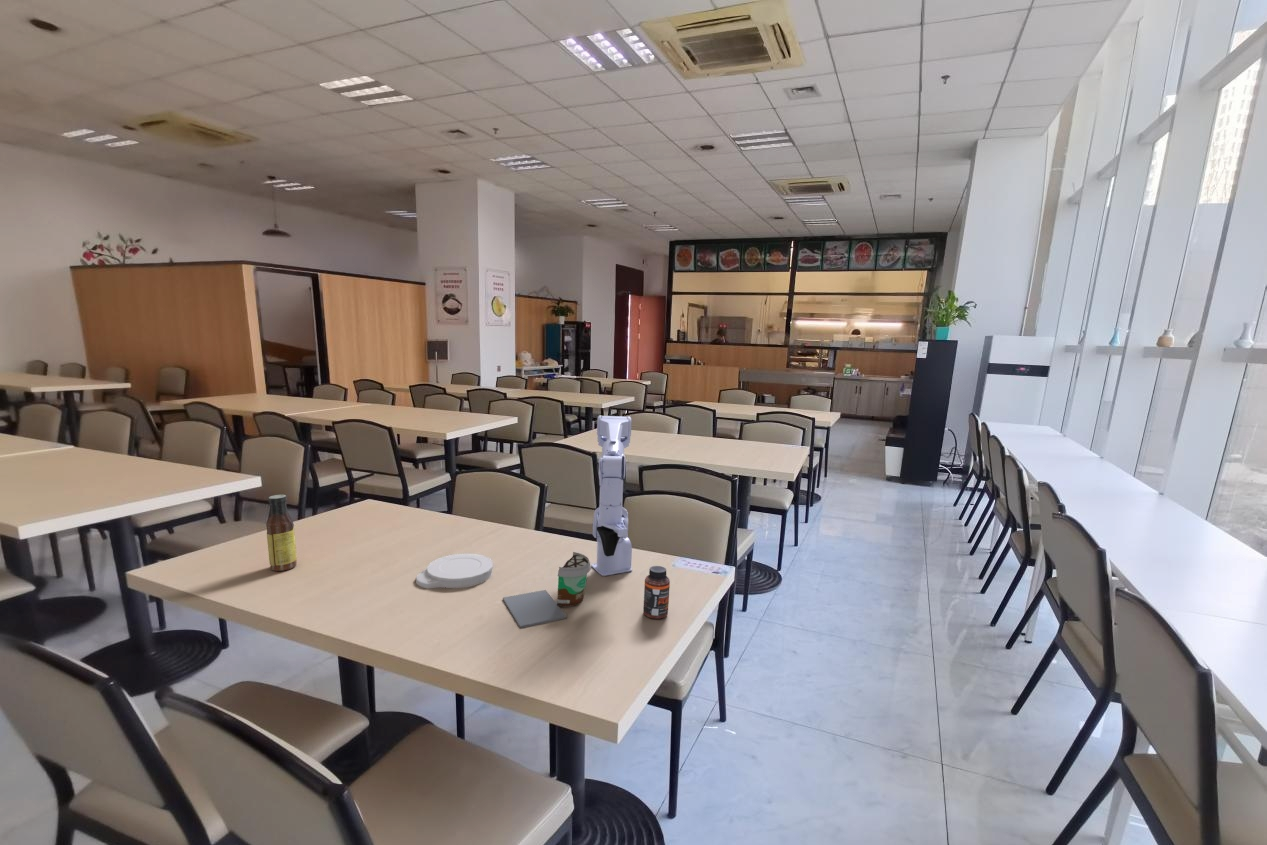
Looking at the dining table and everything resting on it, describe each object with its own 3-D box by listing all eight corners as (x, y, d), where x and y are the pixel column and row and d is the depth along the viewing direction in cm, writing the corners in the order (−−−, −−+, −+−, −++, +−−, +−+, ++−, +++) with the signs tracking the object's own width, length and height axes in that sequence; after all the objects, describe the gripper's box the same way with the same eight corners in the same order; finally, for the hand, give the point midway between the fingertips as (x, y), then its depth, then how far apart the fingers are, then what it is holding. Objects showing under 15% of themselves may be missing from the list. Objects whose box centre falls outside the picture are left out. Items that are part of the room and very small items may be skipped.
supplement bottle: (660, 622, 126) (662, 576, 125) (638, 615, 129) (640, 569, 128) (672, 612, 131) (674, 567, 130) (651, 605, 134) (653, 561, 133)
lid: (408, 573, 148) (408, 562, 148) (480, 559, 160) (480, 549, 159) (425, 598, 134) (425, 586, 134) (503, 580, 146) (503, 570, 145)
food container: (579, 612, 129) (583, 572, 128) (554, 608, 130) (558, 567, 129) (593, 592, 141) (596, 555, 140) (570, 588, 142) (573, 551, 141)
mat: (545, 591, 140) (545, 589, 140) (566, 618, 127) (566, 616, 127) (502, 599, 135) (502, 597, 135) (520, 628, 122) (520, 625, 121)
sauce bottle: (302, 563, 151) (299, 493, 148) (286, 573, 145) (282, 500, 142) (280, 562, 151) (276, 492, 149) (262, 571, 145) (258, 498, 142)
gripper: (638, 509, 132) (636, 563, 134) (612, 494, 145) (611, 543, 147) (612, 512, 129) (610, 567, 131) (588, 496, 141) (586, 547, 143)
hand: (609, 555), depth 138 cm, fingers closed
